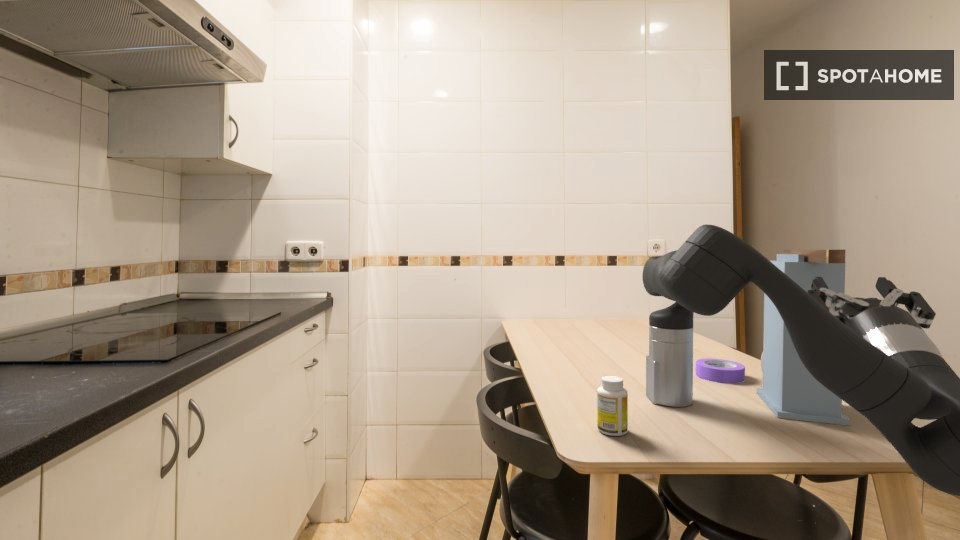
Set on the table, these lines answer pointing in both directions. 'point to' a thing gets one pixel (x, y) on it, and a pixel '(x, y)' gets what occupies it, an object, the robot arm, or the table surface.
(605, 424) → the supplement bottle
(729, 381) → the masking tape
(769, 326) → the pale blue pedestal
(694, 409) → the table surface
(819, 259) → the brown wooden bar
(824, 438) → the table surface
